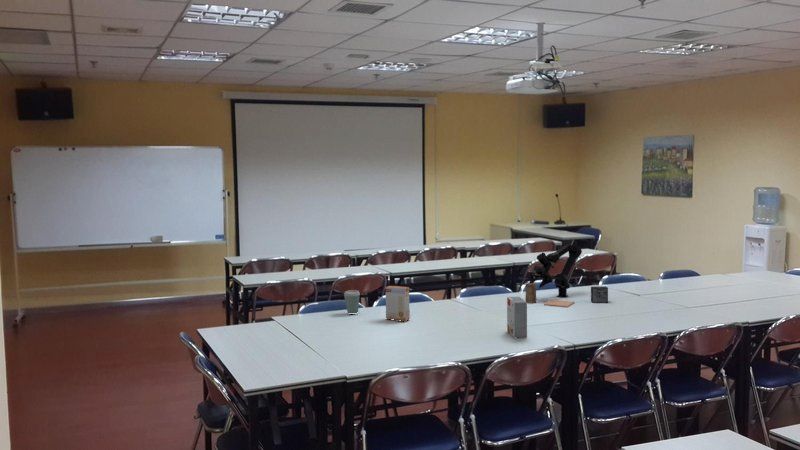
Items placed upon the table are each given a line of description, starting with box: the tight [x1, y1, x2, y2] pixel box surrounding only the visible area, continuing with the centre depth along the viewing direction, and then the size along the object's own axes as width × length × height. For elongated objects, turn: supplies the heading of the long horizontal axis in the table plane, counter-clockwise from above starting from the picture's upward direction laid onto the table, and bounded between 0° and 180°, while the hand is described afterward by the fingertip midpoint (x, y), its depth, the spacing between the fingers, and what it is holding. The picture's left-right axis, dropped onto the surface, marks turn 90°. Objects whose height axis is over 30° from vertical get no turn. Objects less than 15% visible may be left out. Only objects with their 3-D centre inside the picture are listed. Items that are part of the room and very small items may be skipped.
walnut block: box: [525, 282, 537, 304], centre depth 445 cm, size 5×5×13 cm
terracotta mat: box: [543, 299, 575, 308], centre depth 439 cm, size 16×16×1 cm
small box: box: [590, 285, 609, 304], centre depth 443 cm, size 11×6×10 cm, turn 84°
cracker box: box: [385, 285, 411, 322], centre depth 400 cm, size 14×6×21 cm, turn 59°
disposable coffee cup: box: [343, 289, 361, 314], centre depth 419 cm, size 11×11×15 cm
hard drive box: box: [506, 296, 528, 338], centre depth 361 cm, size 16×8×20 cm, turn 5°
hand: (534, 286), depth 447 cm, fingers open, 9 cm apart
